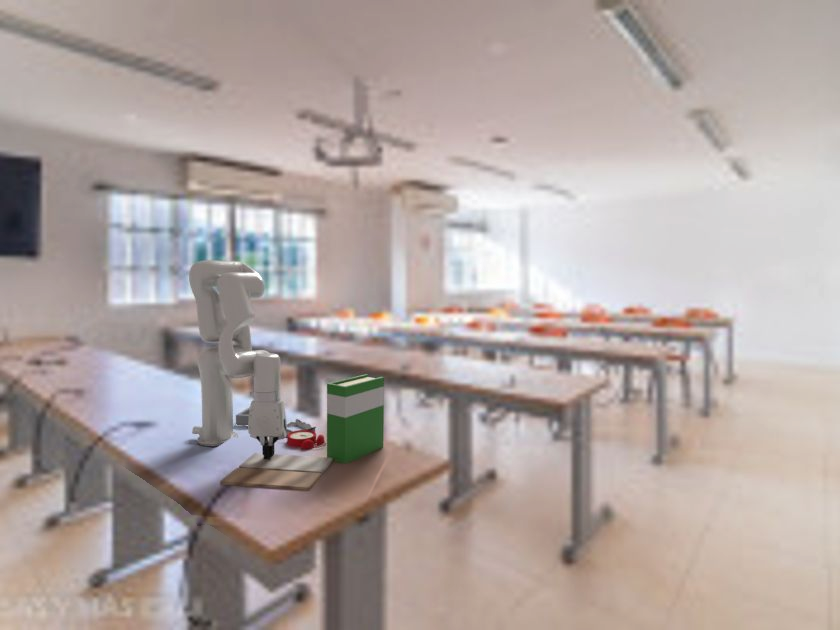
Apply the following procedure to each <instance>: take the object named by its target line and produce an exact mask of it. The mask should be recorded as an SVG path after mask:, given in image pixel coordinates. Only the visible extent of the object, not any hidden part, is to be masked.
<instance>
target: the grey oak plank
mask: <svg viewBox="0 0 840 630" xmlns="http://www.w3.org/2000/svg"><path fill="white" fill-rule="evenodd" d="M333 461H334V460H333V458H328V457H327V456H324V457H323V456H309V455H292V454H275V453H274V455H273V456H272V457H271V458H270V459H264V455H263V452H262V453H259V452H254V453H253V454H252V455H251V456H250V457H248V458H247V459H245V461H244V462H242V463H241V464H240V465H239V466H238V468H247V469H263V470H278V471H294V472H309V473H321V475H324V472H325V471H326V470H327V469H328V467H330V465H331V464H332V463H333Z"/></svg>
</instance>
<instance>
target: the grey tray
mask: <svg viewBox="0 0 840 630" xmlns="http://www.w3.org/2000/svg"><path fill="white" fill-rule="evenodd" d="M249 411H250V406H249V407H247V408H246V409H244V410H242V411H240V412H238V414H236V415H235V425H236V424H237V425H248V421H249Z"/></svg>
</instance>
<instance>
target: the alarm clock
mask: <svg viewBox="0 0 840 630" xmlns="http://www.w3.org/2000/svg"><path fill="white" fill-rule="evenodd" d="M292 431H293V432H290V433H289V434H288V435H286V438H285V439H286V443H285V444H286V445H287V446H288V447H291V448H300V450H303V451H306V450H311V449H316V448H318V449H319V448H321V447H324V446H327V442H326V441H325V436H324V435H323V434H319V435H318V436H317V434H316V431H315V432H314V431H310V430H307V429H299V430H292Z"/></svg>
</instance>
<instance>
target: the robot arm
mask: <svg viewBox="0 0 840 630" xmlns="http://www.w3.org/2000/svg"><path fill="white" fill-rule="evenodd" d="M188 281H189V286H190V290H191V292H192V294H193V297H194V300H195V304H196V311H197V323H198V331H199V336H200V339H201V340H202V341H203V342H205V343H210V344H213V343H215V344H216V343H218V346H212V347H208V348H207V347H206V348H204V349H203V350H201V351H200V352H199V354H198V356H197V359H196V360H197V361H196V362H197V367H198V371H199V377H200V387H201V388H200V390H201V391H200V392H201V422H202V423H201V425H202V426H198V425H197V426H193V427H192V431H191V433H192V434H193V435H199V436H198V437H197V441H196V442H197V444H198V445H200V446H203V445H204V447H219V446H218V445H220V446H221V445H223V444H225V443H226V442H227V441H229V440H230V439H232V438H239V434H238V433H237V432H235V431H234V412H233V411H234V408H233V407H234V406H233V405H234V403H233V387H232V386H233V385H232V384H231V382H230V381H229V380H228V379H227V377H228V378H230V379H241V378H248V377H253V391H250V392H249V396H250V397H252V398H253V400H251V401H250V406H249V407H250V411H249V421H248V426H247V428H248V429H247V430H248V431H247V433H248V434H249V436H250V438H253V439H256V440H257V441H258V442H259V443H260V445H261V447H262V450H261V452H262V454H263V455H264V459H270V458H271V457H272V456H273V455H274V454H275V443H276V442H278V441H279V440H280V441H281V440H284V439H287V438H286V437H287V434H286V432H285V431H286V429H287V428H286V427H287V424H288V423H287V414H286V413H287V412H286V407H285V402H284V400H283V399H282V384H281V383H282V382H281V381H282V379H281V378H282V377H281V371H282V370H281V368H282V367H281V357H280V356H279V354H277V353H270V352H269V351H267V350H263V349H257V350H253V346H252V339H251V337H252V336H251V328H250V324H252V323H253V322H254V320H255V319H256V314H255V311H254V307H253V304H252V300H253V299H260V298H261V297H262V296H263V295H264V294H265V287H266V285H265V282H264V279H263V278H262V276H261V275H260V273H258V272H257V271H256V270H254V269H253V268H252V267H250V266H249V265H248V264H246V263H244V262H243V261H242V262H241V261H237V260H235V261H234V260H216V259H215V260H214V259H213V260H212V259H211V260H210V259H208V260H205V259H204V260H200V261H199V260H198V261H196V262H194V263H193V264H191V266H190V269H189V273H188ZM214 287H216V288H217V289H216V288H214ZM226 376H227V377H226Z"/></svg>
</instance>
